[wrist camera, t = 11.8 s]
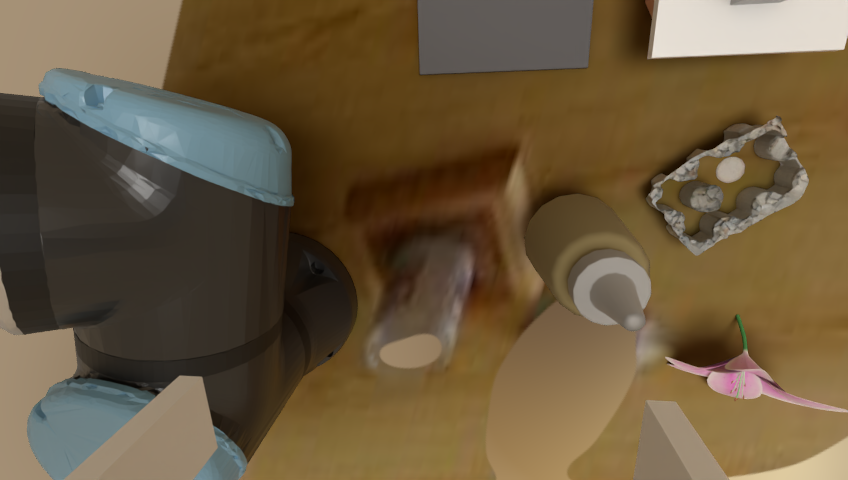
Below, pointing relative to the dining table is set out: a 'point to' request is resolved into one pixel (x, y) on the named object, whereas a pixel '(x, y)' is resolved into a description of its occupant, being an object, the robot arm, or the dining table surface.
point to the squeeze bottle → (590, 260)
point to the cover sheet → (746, 27)
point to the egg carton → (749, 201)
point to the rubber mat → (503, 35)
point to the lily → (745, 379)
